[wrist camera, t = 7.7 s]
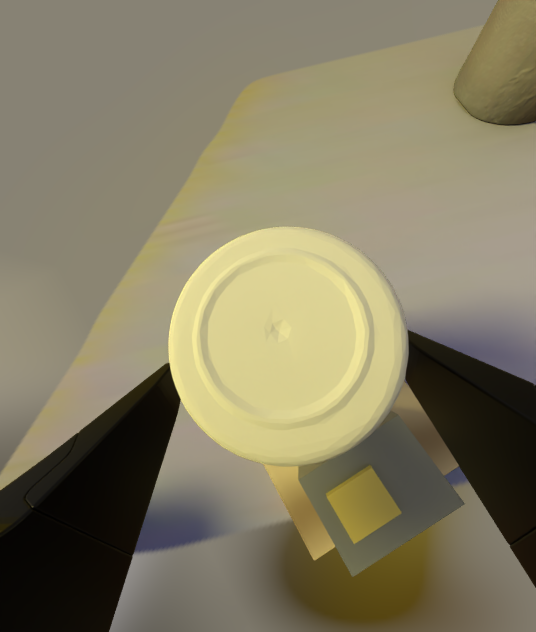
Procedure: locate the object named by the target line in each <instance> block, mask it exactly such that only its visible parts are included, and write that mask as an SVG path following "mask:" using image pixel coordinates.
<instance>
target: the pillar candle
mask: <svg viewBox="0 0 536 632" xmlns="http://www.w3.org/2000/svg"><path fill="white" fill-rule="evenodd" d="M454 95H455V96H456V98H457V99H458V100H459V101H460V102H461V104H462V105H463V106H464V107H465V109H466V110H467V111H468V112H469V113H470V114H471V115H472V116H474V117H476V118H477V119H480V120H483V121H486V122H489V123H496V124H502V125H508V124H521V123H528V122H533V121H535V120H536V0H498V1H497V3H496V5H495V7H494V9H493V11H492V13H491V14H490V16H489V18H488V20H487V22H486V24H485V26H484V27H483V29H482V31H481V33H480V35H479V37H478V39H477V41H476V42H475V44H474V46H473V48H472V50H471V52H470V54H469V55H468V57H467V59H466V61H465V63H464V65H463V66H462V68H461V70H460V72H459V74H458V76H457V79H456V81H455V83H454Z"/></svg>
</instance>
